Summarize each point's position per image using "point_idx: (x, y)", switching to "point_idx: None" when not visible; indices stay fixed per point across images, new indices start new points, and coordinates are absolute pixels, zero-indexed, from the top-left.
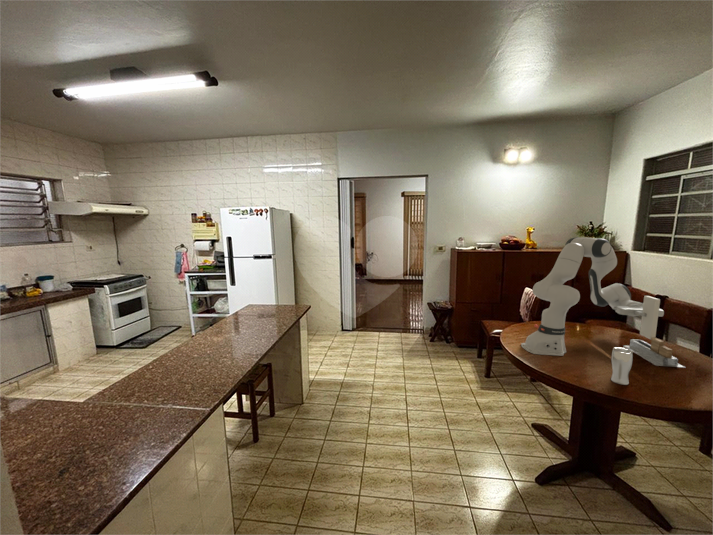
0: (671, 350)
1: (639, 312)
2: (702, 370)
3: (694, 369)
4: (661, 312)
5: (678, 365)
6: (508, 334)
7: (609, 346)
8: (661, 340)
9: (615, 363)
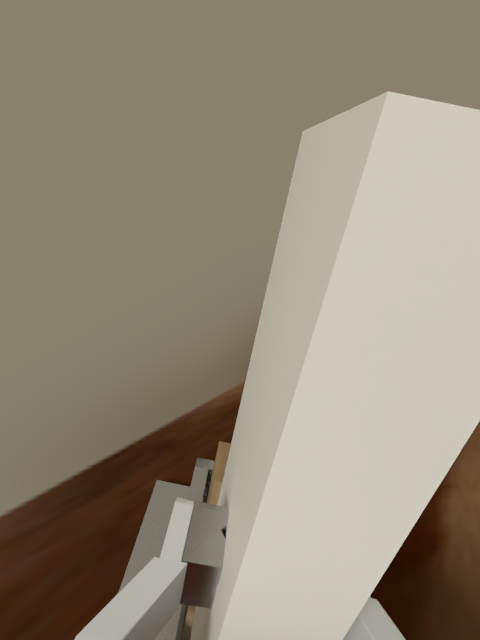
0: (223, 445)
1: (395, 635)
2: (71, 489)
3: (97, 499)
4: None
5: (169, 500)
6: None
7: None
8: (211, 501)
9: None
